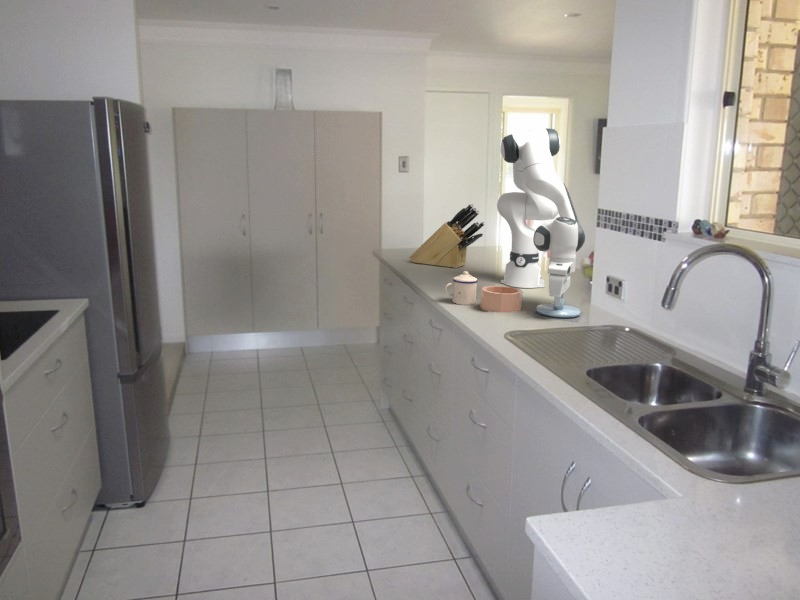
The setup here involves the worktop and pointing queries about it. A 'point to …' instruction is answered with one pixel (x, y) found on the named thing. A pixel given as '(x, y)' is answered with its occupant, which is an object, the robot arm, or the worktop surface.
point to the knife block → (450, 241)
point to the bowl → (501, 299)
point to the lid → (558, 310)
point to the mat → (572, 319)
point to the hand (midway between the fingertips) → (558, 304)
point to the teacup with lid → (463, 289)
